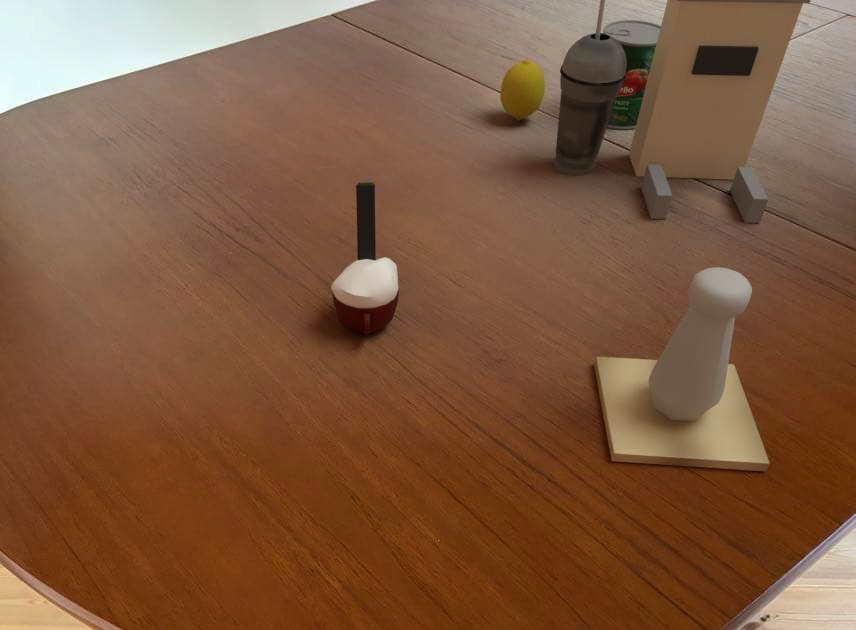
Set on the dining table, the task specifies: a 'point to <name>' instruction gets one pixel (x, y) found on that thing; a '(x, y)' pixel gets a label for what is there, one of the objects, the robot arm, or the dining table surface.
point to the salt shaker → (700, 346)
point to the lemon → (522, 89)
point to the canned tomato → (632, 68)
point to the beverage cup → (587, 98)
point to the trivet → (675, 422)
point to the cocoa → (366, 275)
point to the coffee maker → (710, 96)
